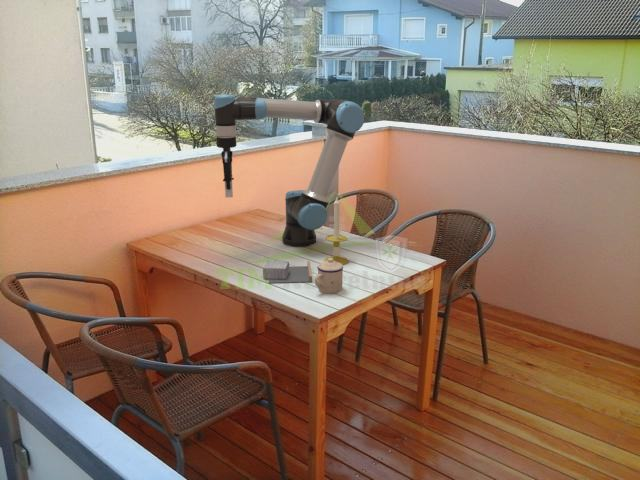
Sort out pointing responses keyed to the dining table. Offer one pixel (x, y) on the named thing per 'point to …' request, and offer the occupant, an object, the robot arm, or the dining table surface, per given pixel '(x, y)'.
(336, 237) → the candle
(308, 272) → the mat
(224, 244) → the dining table surface
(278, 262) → the medicine box
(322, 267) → the teacup with lid
